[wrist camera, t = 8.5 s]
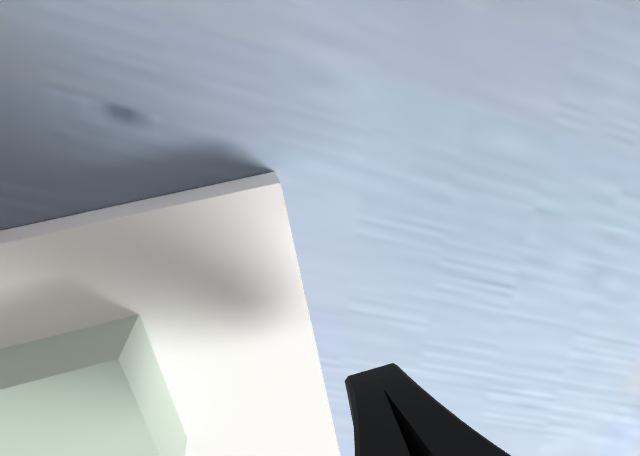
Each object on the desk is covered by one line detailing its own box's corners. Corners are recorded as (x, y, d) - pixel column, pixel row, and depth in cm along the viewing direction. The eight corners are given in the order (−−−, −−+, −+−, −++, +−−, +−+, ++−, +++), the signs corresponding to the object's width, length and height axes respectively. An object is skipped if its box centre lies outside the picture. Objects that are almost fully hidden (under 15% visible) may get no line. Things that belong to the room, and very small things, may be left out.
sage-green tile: (187, 438, 13) (178, 498, 11) (33, 483, 13) (-6, 556, 11) (139, 314, 12) (118, 358, 10) (-40, 359, 11) (-103, 417, 9)
